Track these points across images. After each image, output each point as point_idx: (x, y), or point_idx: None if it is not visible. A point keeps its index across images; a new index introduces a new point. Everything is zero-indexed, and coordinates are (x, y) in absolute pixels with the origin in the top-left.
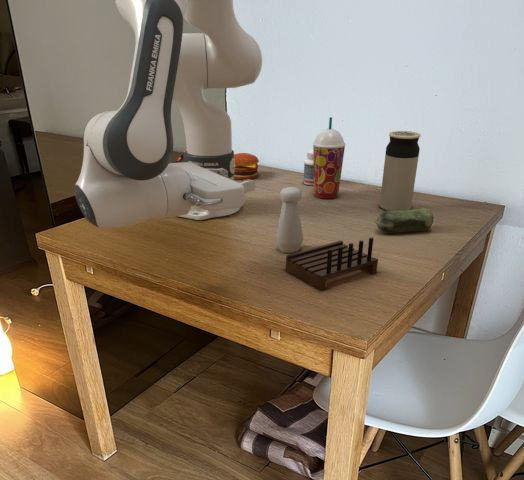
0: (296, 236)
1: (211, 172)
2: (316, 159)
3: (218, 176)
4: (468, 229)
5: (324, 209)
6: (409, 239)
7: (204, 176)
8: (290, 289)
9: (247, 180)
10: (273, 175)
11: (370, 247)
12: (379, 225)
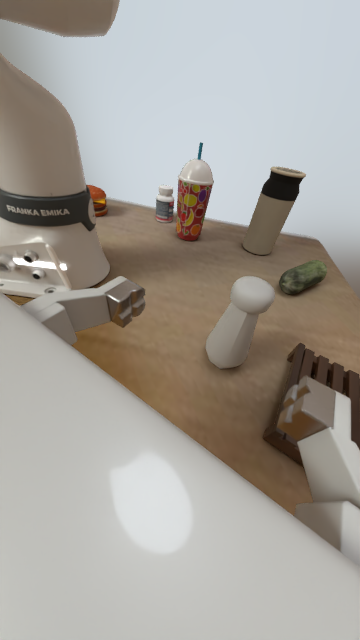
0: (247, 352)
1: (107, 414)
2: (184, 198)
3: (214, 532)
4: (336, 274)
5: (201, 257)
6: (315, 300)
7: (60, 611)
8: None
9: (325, 405)
10: (122, 210)
11: None
12: (288, 288)
